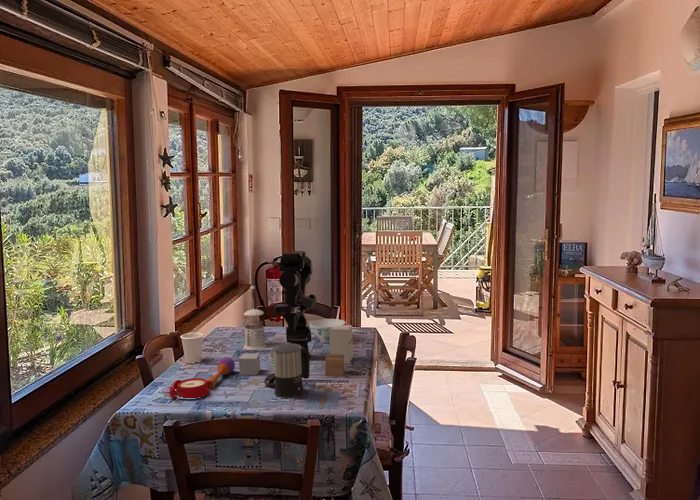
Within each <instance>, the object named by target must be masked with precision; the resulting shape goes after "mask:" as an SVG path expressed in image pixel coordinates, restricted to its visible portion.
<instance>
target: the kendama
mask: <svg viewBox="0 0 700 500" xmlns="http://www.w3.org/2000/svg"><path fill="white" fill-rule="evenodd" d="M235 365H236V364H235V361H234V359H232V358H231V357H230V356H224V357H223V356H222V357H221V358H220V359H219V360H218V362H217V367H216V370H217V372H216V373H214V374H213V375H212V376H211V377H210V378H208V379H206V380H207V382H212V383H207V385H208V389H212V390H213V389H214V387H215V386H216V384H217V382H218V380H219V378H220V377H221V375H222V376H224V375H229V374H231V373H232V372H233V371H234V370H235V367H236V366H235ZM213 381H214V382H213Z"/></svg>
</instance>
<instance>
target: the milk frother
mask: <svg viewBox="0 0 700 500" xmlns="http://www.w3.org/2000/svg"><path fill="white" fill-rule="evenodd" d="M308 350H309V349H308ZM308 350H307V349H306V348H304V347H301V346H300V345H298V344H290V343H283V344H277V345H274V346H273V347H272V351H273V365H274V366H273V367H274V368H273V370H274V373H271V374H269V375H268V376H267V377H266V378H265V379H264V381H263V382H264V383H263V384H264V385H265V386H266V387H269V388H274V395H275V396H277V397H280V398H293V397H297V396H300V395H302V394H303V393H304V391H305V390H304V387H303V379H306V380H307V379H309V378H310V366H311V365H310V358H311V356H310V355H311V354H310V352H309V351H310V350H309V351H308Z"/></svg>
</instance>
